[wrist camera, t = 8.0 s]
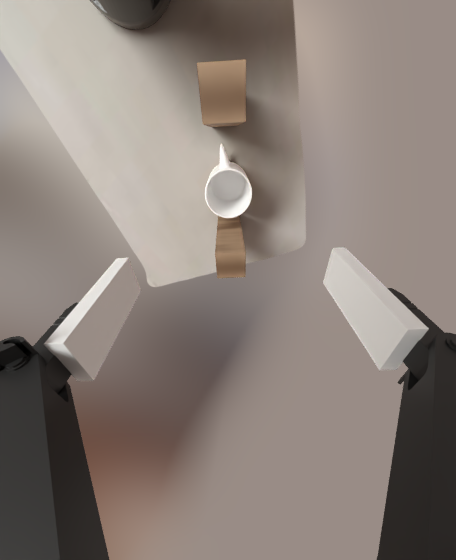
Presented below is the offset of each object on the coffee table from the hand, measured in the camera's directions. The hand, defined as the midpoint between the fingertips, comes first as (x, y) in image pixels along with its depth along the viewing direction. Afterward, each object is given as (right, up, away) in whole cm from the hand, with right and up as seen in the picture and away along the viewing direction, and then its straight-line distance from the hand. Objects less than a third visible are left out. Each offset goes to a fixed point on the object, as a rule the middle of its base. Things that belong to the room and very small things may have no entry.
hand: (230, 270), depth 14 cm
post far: (0, +14, +38) cm, 40 cm away
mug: (0, +23, +31) cm, 39 cm away
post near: (-1, +31, +25) cm, 40 cm away
